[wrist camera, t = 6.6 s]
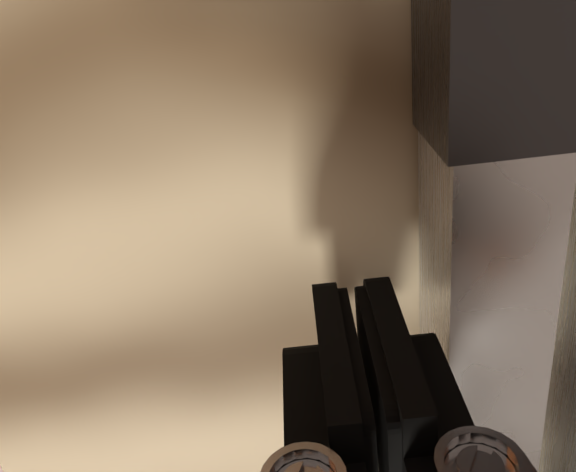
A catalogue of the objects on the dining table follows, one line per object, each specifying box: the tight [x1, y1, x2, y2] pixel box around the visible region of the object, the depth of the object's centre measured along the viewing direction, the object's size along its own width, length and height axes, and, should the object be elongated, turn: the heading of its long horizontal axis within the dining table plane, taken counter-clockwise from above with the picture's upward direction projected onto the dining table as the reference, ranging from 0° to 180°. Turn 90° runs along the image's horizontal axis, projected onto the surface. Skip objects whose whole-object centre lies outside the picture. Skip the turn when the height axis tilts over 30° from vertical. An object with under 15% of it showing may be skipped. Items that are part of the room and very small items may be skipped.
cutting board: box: [0, 0, 420, 472], centre depth 14 cm, size 24×21×1 cm
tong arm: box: [411, 0, 576, 472], centre depth 13 cm, size 23×4×3 cm, turn 7°
